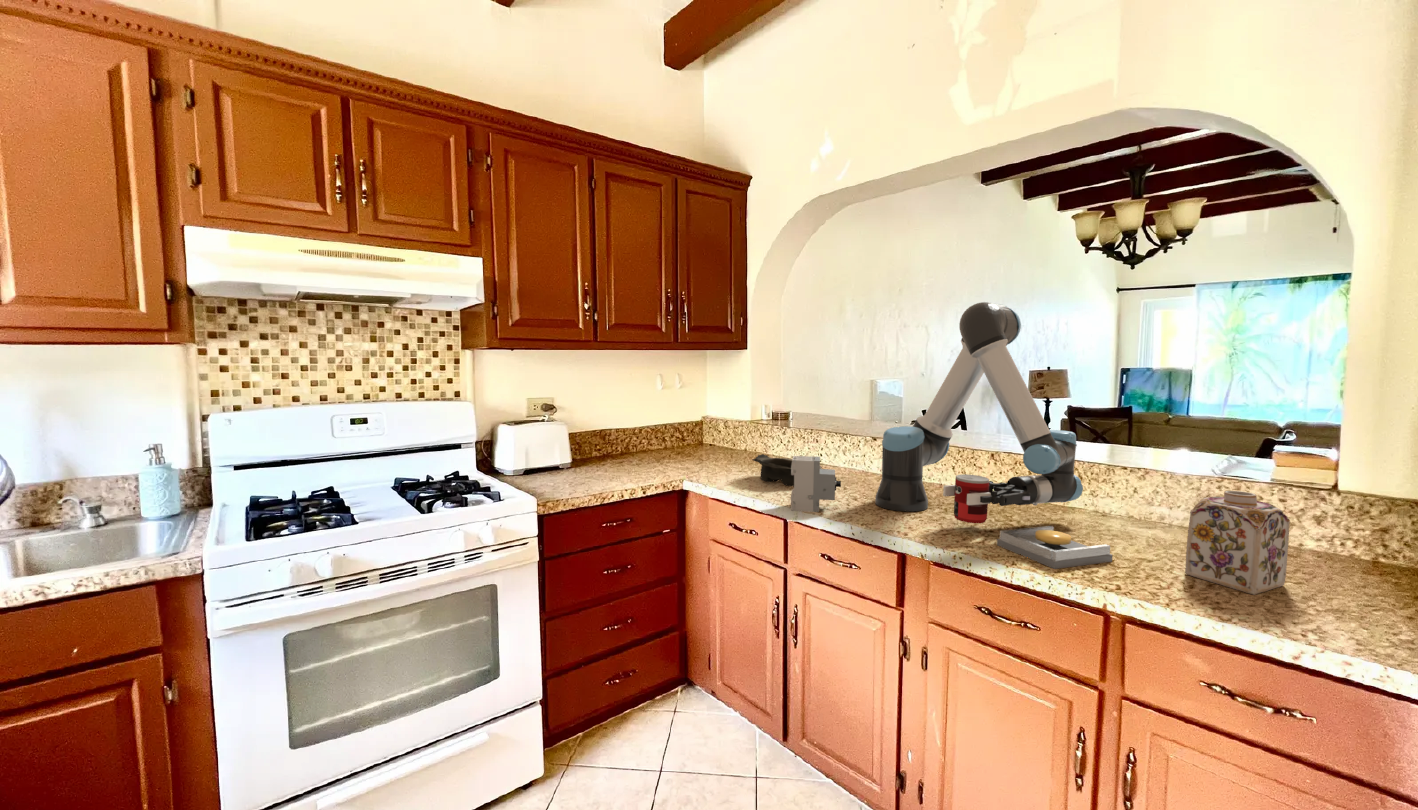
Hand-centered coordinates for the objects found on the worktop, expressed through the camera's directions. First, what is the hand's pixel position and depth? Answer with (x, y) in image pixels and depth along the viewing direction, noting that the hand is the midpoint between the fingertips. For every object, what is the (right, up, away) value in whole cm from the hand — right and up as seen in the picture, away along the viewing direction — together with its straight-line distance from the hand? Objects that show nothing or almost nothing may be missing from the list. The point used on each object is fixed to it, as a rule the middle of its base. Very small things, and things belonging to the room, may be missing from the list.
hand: (955, 495), depth 145 cm
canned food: (+4, -7, +2) cm, 8 cm away
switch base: (+16, -11, -15) cm, 24 cm away
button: (+16, -9, -15) cm, 24 cm away
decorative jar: (+43, -12, -31) cm, 54 cm away
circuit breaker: (-31, -8, +24) cm, 40 cm away
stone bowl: (-34, -5, +61) cm, 70 cm away
